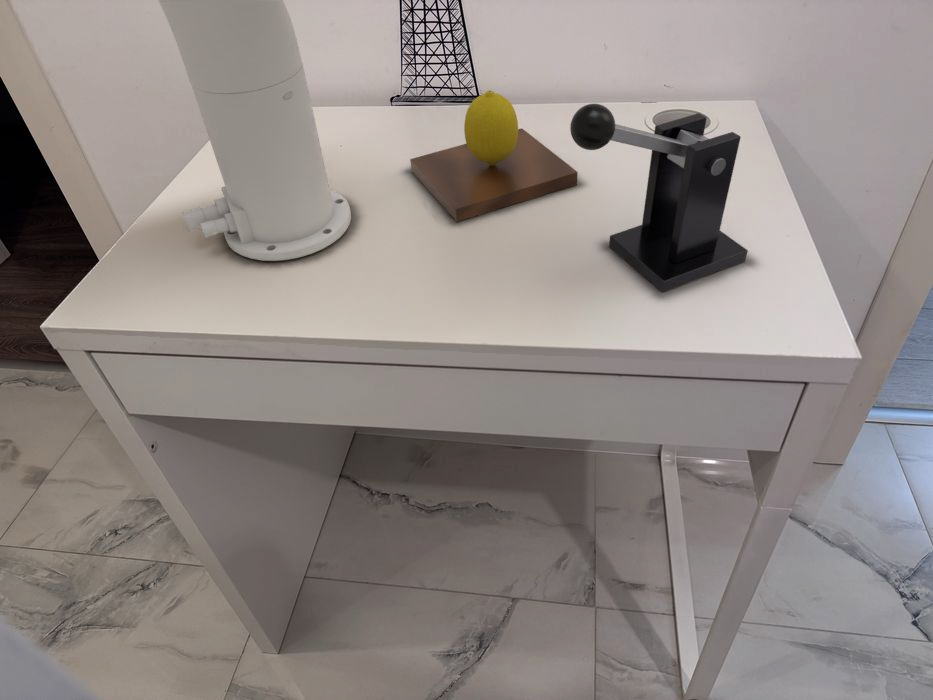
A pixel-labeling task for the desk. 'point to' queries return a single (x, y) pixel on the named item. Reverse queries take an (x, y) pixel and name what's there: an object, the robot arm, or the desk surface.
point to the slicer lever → (625, 134)
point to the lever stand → (684, 211)
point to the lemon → (491, 128)
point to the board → (492, 177)
